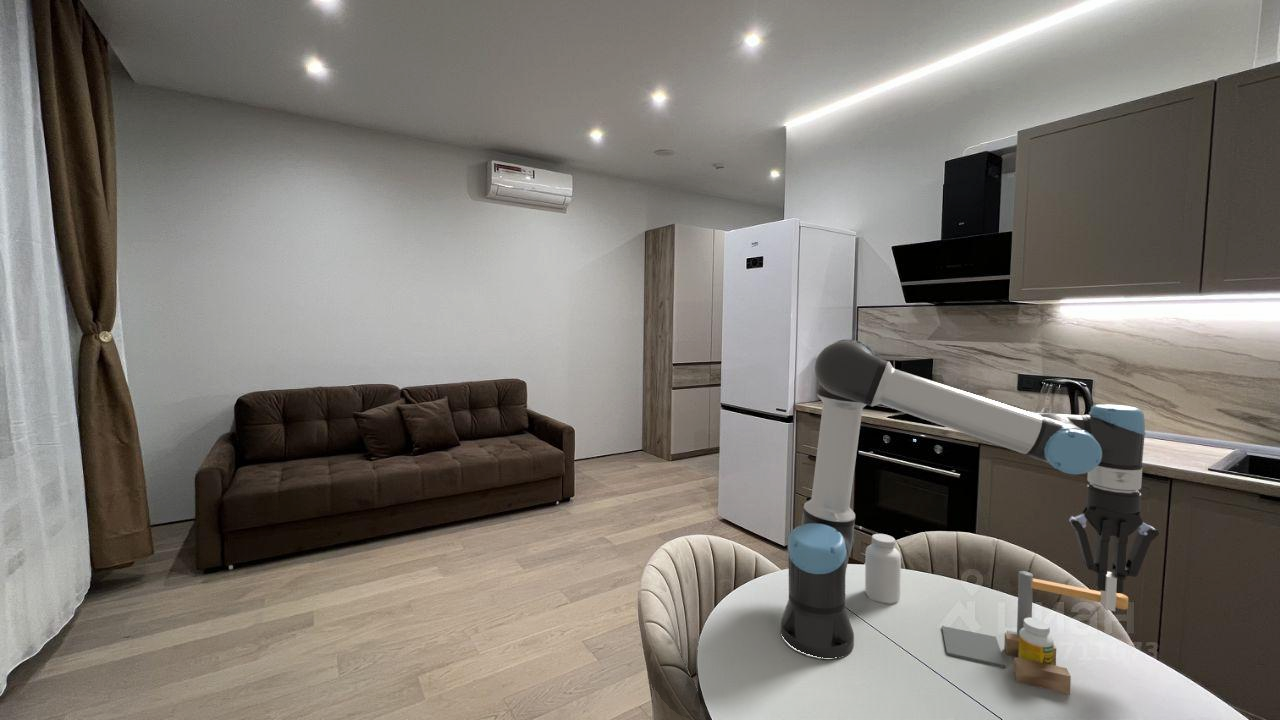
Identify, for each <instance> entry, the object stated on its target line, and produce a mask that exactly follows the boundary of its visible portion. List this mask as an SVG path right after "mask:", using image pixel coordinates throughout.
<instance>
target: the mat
mask: <svg viewBox="0 0 1280 720" xmlns="http://www.w3.org/2000/svg"><path fill="white" fill-rule="evenodd" d="M941 629H942V635H943V641H944V645H945V646H944V647H945V652H946V655H947V656H950V657H956V658H960V659H965V660H969V661H973V662H976V663H977V662H978V663H982V664H987V665H992V666H997V667H1000V668H1004V669H1005V668H1007V665H1006V662H1005V659H1004V656H1003V654H1002V650H1001V648H1000V644H999V642H998V639H997V636H994V635H989V634H986V633H985V634H984V633H979V632H975V631H969V630H964V629H960V628H955V627H950V626H945V625H942V626H941Z"/></svg>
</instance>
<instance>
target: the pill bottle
mask: <svg viewBox="0 0 1280 720" xmlns="http://www.w3.org/2000/svg"><path fill="white" fill-rule="evenodd" d="M901 559H902V555H901V553H900V551H899V550H898V549H897V548H896V539H895V538H894V537H893V536H891V535H888V534H884V533H875V534H872V536H871V543H870V545H868V546H867V547H866V549H865V560H864V561H865V571H864V572H865V573H864V574H865V575H864V576H865V578H864V579H865V582H864V583H865V585H864V586H865V588H864V589H865V595H866V596H867V597H868V598H870V599H871V600H873V601H875V602H878V603H882V604H896V603H898V602H899V601H900V599H901V581H902V580H901V576H902V575H901V572H902V571H901V570H902V567H901V564H902V563H901V562H902V560H901Z"/></svg>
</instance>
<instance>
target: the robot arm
mask: <svg viewBox="0 0 1280 720" xmlns="http://www.w3.org/2000/svg"><path fill="white" fill-rule="evenodd" d="M814 374H815V377H816V379H817V382H818V384H817V394H816V395H817V397H818V398H819V399H820V400H821V402H822V409H821V410H822V411H821V417H820V418H821V419H820V425H819V434H818V442H817V451H816V457H815V467H814V474H813V475H814V476H813V482H812V492H811V498H810V499H809V500H808V501H806V502H804V504H803V511H802V518H801V525H798V526H796V527H795V528H794V529H793V530H792V531H791V532H790V533H789V536H788V543H787V554H788V600H787V603H786V605H785V608H784V612H783V614H782V617H781V620H780V635H781V634H782V636H783V637H784V639H785V640H786V641H787V642H788V643H789V644H790V645H791V646H793V647H794V648H796V649H797V650H800V651H801V652H804V653H806V654H810V655H813V656H817V657H821V658H822V657H823V658H835V657H837V658H838V659H840V658H839V657H842V656H844V657H846V656H848V655H849V654H850V653H852V652H853V650H854V646H855V635H854V634H855V633H854V630H853V627H852V623H851V621H850V617H849V615H848V611H847V609H846V574H847V567H848V563H849V558H850V556H851V555H850V554H851V552H852V549H853V546H854V542H855V534H854V532H855V531H854V530H855V523H856V522H855V521H856V513H855V512H854V510H853V509H852V508H851V506H850V505H851V499H852V491H853V483H854V476H855V466H856V462H857V461H856V459H857V451H858V446H859V438H860V437H859V436H860V430H861V423H862V415H863V409H864V408H865V407H866V406H869V407H874V406H877V405H882V406H886V407H888V408H890V409H894V410H897V411H900V412H902V413H905V414H908V415H911V416H913V417H917V418H919V419H922V420H926V421H928V422H931V423H935V424H936V425H940V426H943V427H944V428H945V427H946V428H948V429H952V430H954V431H957V432H960V433H963V434H965V435H969V436H971V437H975V438H978V439H980V440H983V441H987V442H989V443H992V444H995V445H998V446H1001V447H1003V448H1006V449H1009V450H1011V451H1015V452H1018V453H1020V454H1023V455H1025V456H1028V457H1031V458H1033V459H1036V460H1039V461H1042V462H1045V463H1047V464H1049V465H1050V466H1051V467H1053V468H1054V469H1056V470H1059V471H1060V472H1062V473H1065V474H1069V475H1083V474H1086V473H1087V482H1088V484H1087V485H1086V506H1085V508H1084V509H1083V510H1082V513H1081V514H1079V515H1076V516H1073V515H1070V516H1068V517H1067V520H1068V522H1069V523H1070V524H1071V526H1072V527H1073V529H1074V533H1075V535H1076V540H1077V543H1078V548H1079V551H1080V555H1081V560H1082V563H1083V564H1084V566H1085V567H1086V568H1087V569H1088V570H1089V571H1092V572H1094V573H1095V574H1094V586H1095V587H1096V589H1097V591H1100V592H1101V596H1100V602H1099V603H1100V605H1102V607H1103V608H1104V610H1106V611H1111V612H1116V608H1115V606H1116V593H1120V594H1123V591H1124V580H1125V581H1126V579H1127V577H1134V578H1135V577H1137V576H1139V575H1138V574H1139V572H1140V570H1141V568H1142V564H1143V562H1144V561H1145V557H1146V555H1147V553H1148V550H1149V547H1150V546H1151V543H1152V542H1153V540H1154V539H1157V537H1158V536H1159V535H1160V532H1159V531H1158V529H1156V528H1154V526H1152V525H1150V524H1147V523H1145V522H1144V519H1143V517H1142V516H1141V501H1142V493H1141V492H1140V491H1139V490H1141V489H1142V480H1143V460H1144V459H1143V457H1144V445H1145V436H1146V430H1145V429H1146V425H1145V423H1146V422H1145V413H1144V412H1143V411H1142V410H1141V409H1139V408H1138V407H1135V406H1129V405H1121V404H1101V403H1100V404H1094V405H1092V406H1091V408H1090V411H1089V412H1088V414H1068V413H1054V412H1052V413H1051V412H1039V411H1026V410H1024V409H1021V408H1018V407H1014V406H1013V405H1012V406H1011V405H1009V404H1006V403H1001V402H999V401H995V400H992V399H990V398H986V397H984V396H981V395H977V394H974V393H971V392H967V391H964V390H962V389H958V388H955V387H952V386H950V385H947V384H943V383H940V382H937V381H934V380H932V379H928V378H924V377H921V376H918V375H915V374H912V373H908V372H906V371H902V370H899V369H896V368H894V367H893V365H892V363H891V362H890V361H888V360H885V359H881V358H880V357H877V356H875V353H874V351H873V350H872V348H871V347H869V346H868V345H867V344H865V343H864V342H862V341H859V340H855V339H850V338H849V339H844V338H843V339H841V340H840V339H839V340H836V341H835V342H833V343H831V344H829V345H827V346H826V347H824V348H823V349H822V350H821V352H820V353H818V356H817V357H816V359H815V364H814ZM1087 522H1088V523H1089V524H1090V526H1091V527H1092V528H1093V529H1094V530H1095V531H1094V534H1095V552H1094V557H1093V554H1092V549H1091V547H1090V546H1091V545H1090V543H1089V542H1090V541H1089V539H1088V535H1087V531H1086V530H1085V528H1086V527H1087ZM1136 530H1137V535H1135V539H1134V541H1133V543H1132V546H1131V549H1130V551H1129V553H1128V556H1127V544H1128V543H1129V536H1130V535H1132V533H1134V532H1135V531H1136ZM1111 536H1112V552H1111V553H1112V555H1111V571H1108V567H1109V566H1108V565H1109V548H1110V547H1109V544H1110V541H1111ZM782 636H781V637H782ZM845 655H846V656H845ZM842 658H843V657H842Z"/></svg>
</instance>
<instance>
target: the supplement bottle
mask: <svg viewBox="0 0 1280 720" xmlns="http://www.w3.org/2000/svg"><path fill="white" fill-rule="evenodd" d="M1023 626H1024V627H1023V628H1021V629H1020V631H1019V654H1018V657H1017V658H1021V659H1026V660H1031V661H1035V662H1040V663H1045V664H1049V665H1053V646H1054V645H1055V644H1054V639H1053V637H1052V636H1051V635H1050V633H1051V632H1050V631H1051V630H1050V629H1051V628H1050V625H1049V623H1047V622H1045V621H1044V620H1042V619H1039V618H1034V617H1032V618H1025V619H1024V623H1023Z"/></svg>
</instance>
